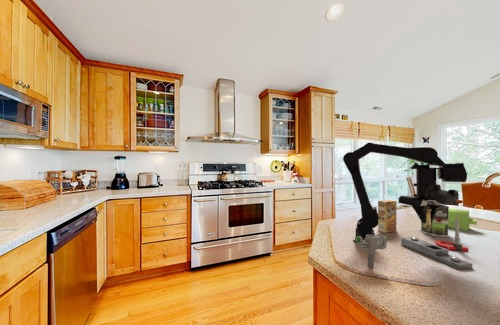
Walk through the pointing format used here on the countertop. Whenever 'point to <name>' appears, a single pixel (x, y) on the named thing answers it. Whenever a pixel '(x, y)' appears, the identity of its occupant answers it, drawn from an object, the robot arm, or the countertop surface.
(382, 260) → the countertop surface
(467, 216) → the gearbox
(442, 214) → the coffee can
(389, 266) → the countertop surface
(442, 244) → the tow hook
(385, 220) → the candy box
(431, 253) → the grey slotted bracket fixture
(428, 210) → the pin
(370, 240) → the mechanical component
